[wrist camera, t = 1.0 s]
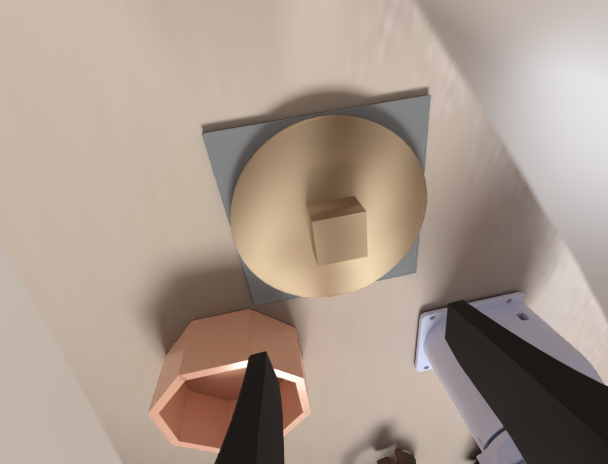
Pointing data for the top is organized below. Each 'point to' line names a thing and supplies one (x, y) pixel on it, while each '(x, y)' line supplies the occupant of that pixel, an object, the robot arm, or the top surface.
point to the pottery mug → (398, 459)
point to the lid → (328, 206)
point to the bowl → (224, 376)
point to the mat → (247, 139)
